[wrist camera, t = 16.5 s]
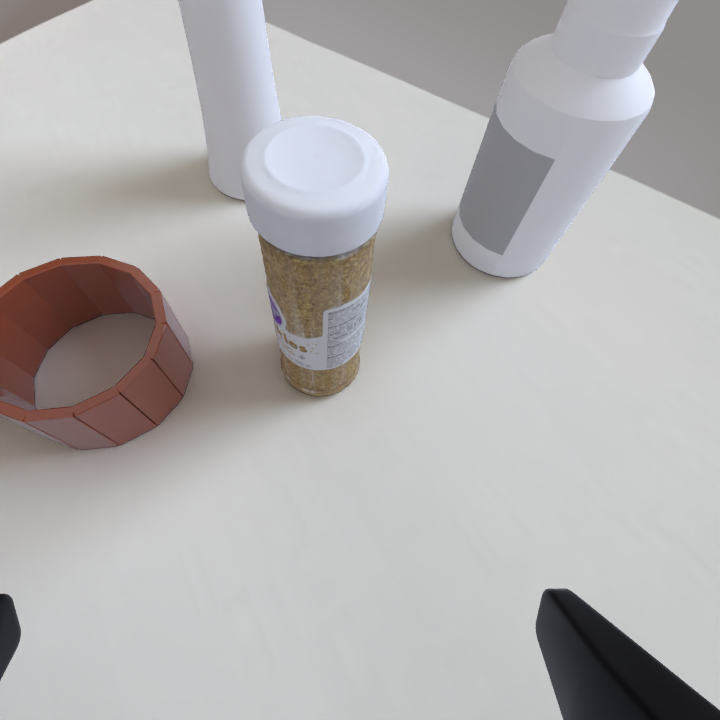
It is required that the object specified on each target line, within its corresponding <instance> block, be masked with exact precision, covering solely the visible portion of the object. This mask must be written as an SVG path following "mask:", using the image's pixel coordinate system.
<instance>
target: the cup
mask: <svg viewBox="0 0 720 720" xmlns="http://www.w3.org/2000/svg"><path fill="white" fill-rule="evenodd" d="M130 312H135V313H138V314H141V315H144V316H147V317H150V318H153V319H155V322H156V325H155V328H154V330H153V333H152V336H151V338H150V341H149V344H148V347H147V349H146V352H145V355H144V357H143V358H142V359H141V360H140V361H139V362H138V363H137V364H136V365H135V366H134V367H133V368H132V369H131V370H130V371H129V372H128V373H127V374H126V375H125V376H124V377H123V378H122V379H121V380H120V381H119V382H118V383H117V384H116V386H115V387H113V388H110V389H108V390H106V391H104V392H102V393H100V394H98V395H96V396H94V397H92V398H90V399H87V400H85V401H83V402H81V403H79V404H77V405H75V406H73V407H62V408H51V409H40V410H37V408H36V407H35V394H34V377H35V374H36V372H37V370H38V368H39V366H40V364H41V362H42V360H43V358H44V356H45V354H46V352H47V350H48V349H49V348H50V347H51V346H52V345H53V344H55V343H56V342H57V341H58V340H59V339H60V338H61V337H62V336H63V335H65V334H66V333H67V332H68V331H69V330H70V329H71V328H72V327H75V326H77V325H79V324H82V323H84V322H86V321H89V320H91V319H93V318H96V317H98V316H101V315H103V314H115V313H130ZM192 364H193V360H192V356H191V351H190V347H189V342H188V338H187V335H186V334H185V332H184V330H183V328H182V327H181V325H180V323H179V322H178V320H177V318H176V317H175V315H174V313H173V312H172V310H171V308H170V306H169V305H168V303H167V301H166V300H165V298H164V296H163V295H162V293H161V291H160V290H159V289H158V287H157V286H156V285H155V284H154V283H153V282H152V281H151V280H150V279H149V278H148V277H147V276H146V275H145V274H144V273H143V272H142V271H141V270H140V269H139V268H137V267H135V266H132V265H129V264H126V263H123V262H120V261H117V260H114V259H111V258H108V257H104V256H102V257H101V256H86V257H67V258H61V259H56V260H53V261H50V262H48V263H45V264H42V265H40V266H37V267H34V268H32V269H29V270H26V271H24V272H21V273H19V275H16V276H14V277H13V278H12V279H10V280H9V281H8V282H7V283H5V284H4V285H3V286H1V287H0V416H1V417H3V418H5V419H7V420H9V421H11V422H14V423H16V424H18V425H20V426H22V427H24V428H26V429H28V430H30V431H32V432H34V433H36V434H38V435H40V436H43V437H45V438H47V439H50V440H52V441H55V442H58V443H61V444H63V445H66V446H69V447H72V448H74V449H77V450H78V449H79V450H84V449H94V448H104V447H113V446H119V444H120V445H122V444H124V443H126V442H128V441H130V440H132V439H134V438H136V437H138V436H140V435H142V434H144V433H146V432H147V431H149V430H151V429H153V428H155V427H157V425H159V424H160V423H161V422H162V421H163V420H164V418H165V417H166V416H167V415H168V414H169V413H170V412H171V410H172V409H173V408H174V407H175V406H176V405H177V404H178V402H179V401H180V400H181V399H182V398H183V397H182V396H184V393H185V390H186V387H187V384H188V380H189V377H190V374H191V371H192V367H193V365H192Z"/></svg>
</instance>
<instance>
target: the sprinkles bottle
mask: <svg viewBox="0 0 720 720" xmlns="http://www.w3.org/2000/svg"><path fill="white" fill-rule="evenodd" d="M240 177H241V183H242V189H243V194H244V200H245V204H246V208H247V213H248V216H249V219H250V221H251V223H252V225H253V227H254V228H255V230H256V231H257V232H258V234H259V241H260V245H261V251H262V255H263V262H264V266H265V272H266V275H267V288H268V293H269V298H270V303H271V308H272V313H273V319H274V325H275V331H276V336H277V340H278V344H279V347H280V351H281V368H282V371H283V373H284V376H285V378H286V379H287V380H288V381H289V383H290V384H291V385H292V386H293V387H294V388H296V389H298V390H299V391H301V392H304V393H305V394H308V395H314V396H325V395H330V394H334V393H338V392H340V391H342V390H343V389H344V388H345V387H347V386H348V385H349V384H350V383H351V382H352V381H353V380H354V379H355V377H356V375H357V373H358V370H359V362H360V356H359V349H360V345H361V342H362V338H363V332H364V325H365V318H366V311H367V304H368V297H369V290H370V283H371V276H372V256H373V251H374V243H375V236H376V234H377V231H378V227H379V225H380V224H381V222H382V219H383V215H384V208H385V202H386V194H387V186H388V177H389V168H388V162H387V159H386V156H385V154H384V152H383V150H382V148H381V147H380V145H379V144H378V143H377V142H376V140H375V139H373V138H372V137H371V136H370V135H369V134H368V133H366V132H365V131H363V130H362V129H360V128H359V127H357V126H355V125H352V124H350V123H348V122H345V121H342V120H339V119H334V118H329V117H322V116H300V117H294V118H288V119H285V120H281V121H278V122H276V123H273V124H271V125H269V126H267V127H265V128H264V129H262V130H261V131H259V132H258V133H257V134H256V135H254V136H253V137H252V138H251V139H250V141H249V142H248V144H247V145H246V147H245V149H244V151H243V153H242V156H241V160H240Z"/></svg>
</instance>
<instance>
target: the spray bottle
mask: <svg viewBox="0 0 720 720" xmlns="http://www.w3.org/2000/svg"><path fill="white" fill-rule="evenodd" d="M678 1H679V0H568V1H567V4H566V6H565V9H564V11H563V13H562V15H561V18H560V20H559V23H558V25H557V27H556V30H555V32H554V33H552V34H548V35H544V36H540V37H536V38H535V39H533V40H531V41H530V42H528V43H527V44H525V45H523V46H522V47H520V48H519V50H518V51H517V53H516V55H515V56H514V58H513V60H512V61H511V63H510V64H509V67H508V70H507V73H506V76H505V78H504V82H503V84H502V87H501V90H500V92H499V95H498V98H497V101H496V104H495V106H494V110H493V112H492V115H491V118H490V120H489V123H488V126H487V129H486V132H485V134H484V137H483V140H482V143H481V146H480V148H479V151H478V154H477V157H476V160H475V162H474V165H473V168H472V171H471V174H470V176H469V179H468V182H467V185H466V188H465V190H464V193H463V196H462V199H461V202H460V204H459V207H458V210H457V213H456V216H455V218H454V221H453V228H452V236H453V240H454V243H455V246H456V249H457V250H458V251H459V253H460V254H461V255H462V257H463V258H464V259H465V260H466V261H467V262H468V263H470V264H471V265H472V266H474V267H475V268H476V269H478V270H481V271H483V272H486V273H488V274H490V275H495V276H501V277H518V276H523V275H525V274H528V273H530V272H532V271H535V270H537V269H538V268H539V267H540V266H541V265H542V264H543V263H544V262H545V261H546V259H547V258H548V256H549V255H550V253H551V252H552V251H553V249H554V248H555V246H556V245H557V243H558V242H559V240H560V239H561V238H562V236H563V235H564V233H565V232H566V230H567V229H568V228H569V226H570V225H571V223H572V222H573V220H574V219H575V218H576V216H577V215H578V213H579V212H580V210H581V209H582V207H583V206H584V205H585V203H586V202H587V200H588V199H589V197H590V196H591V195H592V193H593V192H594V190H595V189H596V187H597V186H598V184H599V183H600V182H601V180H602V179H603V177H604V176H605V174H606V173H607V172H608V170H609V169H610V167H611V166H612V164H613V163H614V161H615V160H616V159H617V157H618V156H619V154H620V153H621V151H622V150H623V148H624V147H625V146H626V144H627V143H628V141H629V140H630V138H631V137H632V136H633V134H634V133H635V131H636V130H637V128H638V127H639V126H640V124H641V123H642V121H643V120H644V118H645V117H646V116H647V114H648V113H649V111H650V108H651V106H652V102H653V98H654V95H655V91H654V86H653V82H652V79H651V75H650V74H649V72H648V71H647V69H646V68H645V66H644V65H643V62H644V60H645V58H646V57H647V55H648V54H649V52H650V50H651V49H652V47H653V46H654V44H655V42H656V41H657V39H658V37H659V36H660V34H661V32H662V31H663V29H664V26H665V24H666V20H667V19H668V17H669V15H670V14H671V12H672V10H673V9H674V7H675V6H676V4H677V2H678Z"/></svg>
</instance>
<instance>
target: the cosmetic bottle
mask: <svg viewBox="0 0 720 720" xmlns="http://www.w3.org/2000/svg"><path fill="white" fill-rule="evenodd" d="M178 2H179V6H180V11H181V15H182V20H183V24H184V29H185V33H186V38H187V42H188V47H189V52H190V56H191V61H192V65H193V70H194V75H195V80H196V85H197V90H198V95H199V100H200V106H201V111H202V117H203V123H204V129H205V136H206V144H207V152H208V163H209V175H210V179H211V181H212V183H213V184H214V185H215V187H216V188H217V189H218V190H220V191H221V192H222V193H224V194H226V195H228V196H230V197H233V198H236V199H241V200H244V194H243V189H242V183H241V177H240V160H241V156H242V153H243V151H244V149H245V147H246V145H247V144H248V142H249V141H250V139H251V138H252V137H253V136H254V135H256V134H257V133H258V132H259V131H261V130H262V129H264V128H265V127H267V126H269V125H271V124H273V123H276V122H278V121H281V120H282V119H281V114H280V109H279V104H278V99H277V93H276V88H275V82H274V76H273V70H272V64H271V57H270V51H269V44H268V38H267V32H266V25H265V19H264V11H263V5H262V0H178Z"/></svg>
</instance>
